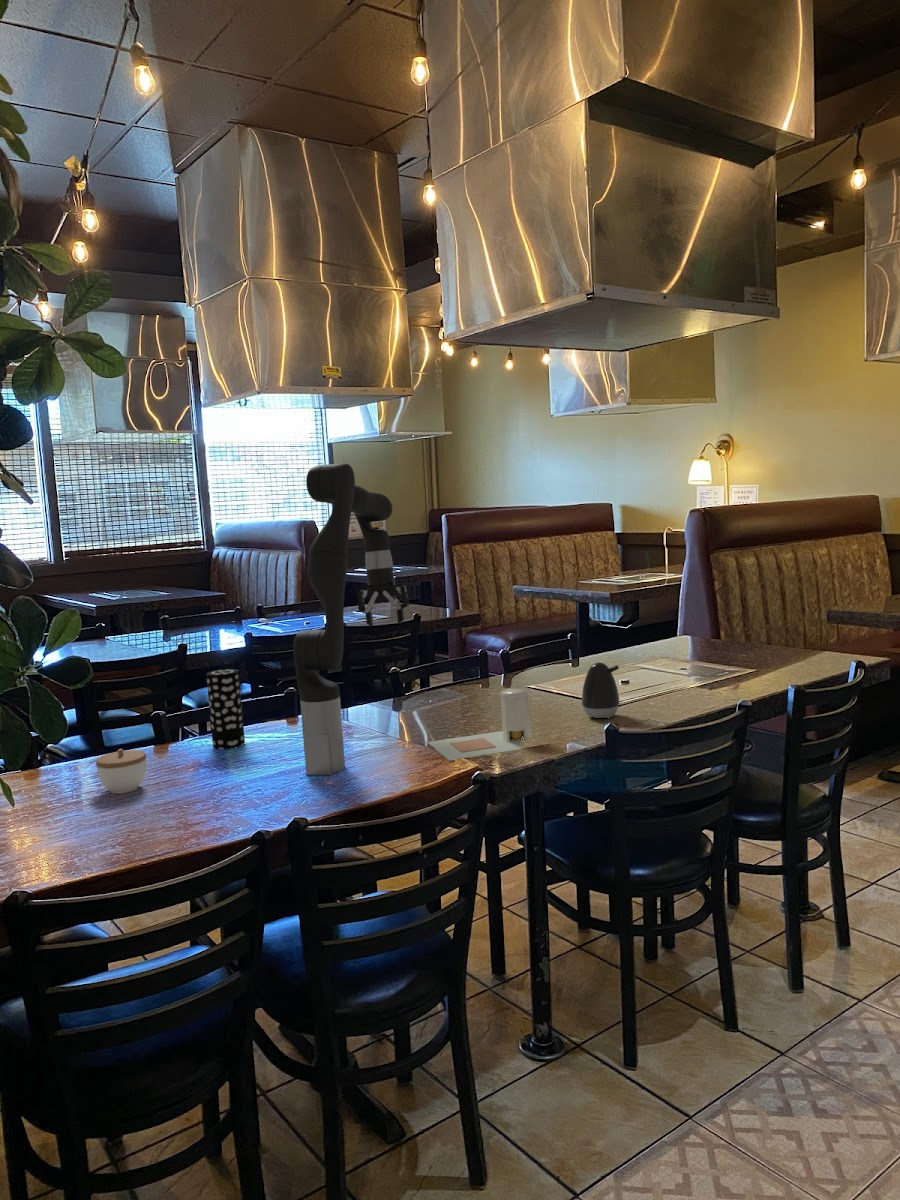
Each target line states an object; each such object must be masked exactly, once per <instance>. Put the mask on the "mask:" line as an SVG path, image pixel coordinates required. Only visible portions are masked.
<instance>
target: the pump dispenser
mask: <svg viewBox="0 0 900 1200" xmlns="http://www.w3.org/2000/svg"><path fill="white" fill-rule="evenodd" d="M619 669H620V668H619V665H614V666H611V667H608V666H607V664H605V663H603V662H595V663H593V664H591V666H590V667H589V670H588V671H587V673H586V675H585V679H584V682H583V686H582V695H581V706H582V707H583V711H584V712H585V714H586V715H587V716H588V717H590V718H591V717H594V718H608V717H610V718H612V717H613V715H614V716H615V715H616V713H617V711H618V709H619V705H620V695H619V690H618V686H617V683H616V680H615V677H614V675H613V674H612V673H614V672H616V671H617V670H619ZM594 718H593V719H594ZM608 719H609V718H608Z"/></svg>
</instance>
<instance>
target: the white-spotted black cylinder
mask: <svg viewBox="0 0 900 1200" xmlns="http://www.w3.org/2000/svg"><path fill="white" fill-rule="evenodd" d="M239 671H240V670H239V669H236V668H226V669H225V668H224V669H215V670H212V671H211V670H210V671H209V672H206V684H207V693H208V694H207V696H208V705H209V707H208V708H209V719H210V726H211V727H210V728H211V739H212V748H213V747H214V748H216V749H215V750H217V749H229V750H232V749H231V748H235V747H239V746H241V745H243V744H244V743H245V744H246V742H245V741H246V739H245V731H244V730H245V729H244V728H245V727H244V715H243V706H242V695H241V694H242V692H241V684H240V683H241V682H240V672H239ZM243 746H244V745H243ZM241 747H242V746H241ZM214 748H213V749H214ZM239 748H240V747H239ZM235 749H236V748H235Z"/></svg>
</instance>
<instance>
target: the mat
mask: <svg viewBox="0 0 900 1200" xmlns="http://www.w3.org/2000/svg"><path fill="white" fill-rule="evenodd" d="M523 737H524V736H523ZM509 738H510V741H509V742H507V741H505V740H503V730H500V731H494V732H487V733H480V734H474V735H467V736H460V737H459V736H458V737H453V738H447V739H445V738H444V739H439V740H433V741H427V745H428V744H429V745H428V746H429V747H430V748H432V747H433V748H434V749H435V752H436V753H438V754H439V753H440V754H439V755H440V756H442V757H443V758H444V759H445V758H446V761H448V762H449V761H450V762H449V763H453V762H452V761H454V762H456V761H455V760H460V759H467V758H473V757H478V756H487V755H491V754H499V753H504V752H505V753H506V752H513V751H519V750H524V749H523V748H522V745H523V744H522V743H521V742H522V741H521V738H522V736H521V738H519V739H520V740H519V739H514V738H513V737H509ZM522 740H523V739H522ZM520 741H521V742H520ZM520 743H521V744H522V745H521V744H520ZM433 748H432V749H433ZM521 748H522V749H521ZM434 749H433V750H434Z"/></svg>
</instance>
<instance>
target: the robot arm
mask: <svg viewBox="0 0 900 1200" xmlns="http://www.w3.org/2000/svg"><path fill="white" fill-rule="evenodd" d="M355 476H356V475H355V472H354V469H353V468H352V466H351V465H350V464H349V463H345V462H343V463H341V462H340V463H327V464H320V465H314V466H313V467H311V468H310V469H309V470H308V471H307V473H306V477H305V478H306V480H305V481H306V484H305V485H306V489H307V490H306V491H307V493H308V495H309V496H310V498H311V499H312V500H314V502H317V503H325V504H326V503H327V504H331V505H333V507H332V511H331V514H330V515H329V518H328V520H327V521H326V523H325V524H324V526H323V527H322V529H321V530H319V532H318V534H317V536H315V539H313V541H312V543H311V545H310V549H309V552H308V562H307V579H308V581H309V584H310V586H311V587H312V590H313V591H314V592H315V595H316V596H317V598H318V600H319V601H320V604H321V606H322V608H323V610H324V616H325V629H307V630H306V629H304V630H300V631H298V632H297V633H296V635H295V637H294V640H293V646H292V647H293V649H292V652H293V661H294V666H295V674H296V681H297V683H296V684H297V688H298V692H299V700H300V701H299V702H300V713H301V715H300V716H301V725H302V727H301V728H302V738H303V750H304V751H303V752H304V762H305V774H306V775H308V776H309V775H313V776H315V775H316V776H319V775H321V776H322V775H323V776H327V775H328V776H331V775H333V774H336V773H339V772H342V771H343V770H345V768H346V760H345V749H344V748H345V746H344V737H343V735H344V733H343V723H342V720H343V719H342V706H341V693H340V686H339V685H338V683H336V682H334V681H331V680H328V679H327V678H324V677H323V676H322V675H320V673H318V670H335V669H338V668H339V667H340V666H341V663H342V661H343V657H344V644H345V643H344V642H345V641H344V638H345V637H344V636H345V635H344V629H345V628H344V627H345V626H344V625H345V624H344V607H345V606H344V605H345V604H344V603H345V592H346V591H345V590H346V582H347V580H346V579H347V571H348V570H347V569H348V559H349V558H348V555H349V554H348V552H349V548H348V547H349V533H350V524H351V523H350V522H351V516H352V515H351V514H352V513H353V514H354V516H355V518H356V521H357V523H358V525H359V528H360V531H361V534H362V537H363V542H364V543H363V544H364V545H363V546H364V552H365V554H364V555H365V557H364V558H365V569H366V572H365V573H366V580H367V589H365V590H363V589H360V590H357V607H358V608H357V609H358V611H359V612H362V613H364V614H365V618H366V620H365V621H366V622H365V623H366V624H367V625H368V627H372V626H374V619H373V612H372V610H373V609H374V607H375V606H376V604H377V605H379V604H383V603H385V604H387V603H388V604H389V603H391V604H392V605H393V606H394V607H395V608H396V609H397V610H396V615H397V623H398V624H402V623H403V622H404V620H405V615H404V609H405V608H407V607H409V606H410V600H409V596H408V589H407V586H406V585H401V586H396V584H395V575H394V562H393V557H392V553H391V546H390V538H389V533H388V531H387V530H384V529H379V528H378V529H376V528H374V527H373V526H372V524H371V523H375V522H383V521H386V520H388V519H389V518H390V517H391V515H392V513H393V505H392V502H391V500H390V499H389V497H387V496H386V495H384V494H382V493H376V492H372V491H371V492H370V491H368V490H367V489H365V488H364V487H362V486H359V485H356V479H355V478H356V477H355ZM397 592H398V593H399V594H400V595H401V600H402V603H401V602H400V600H399V599H398V598H397V597H396V596H395V595H396V594H397ZM367 595H368V596H369V598H370V600H369V601H368V602H367V606H366V604H365V603H366V602H365V599H366V597H367Z"/></svg>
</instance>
